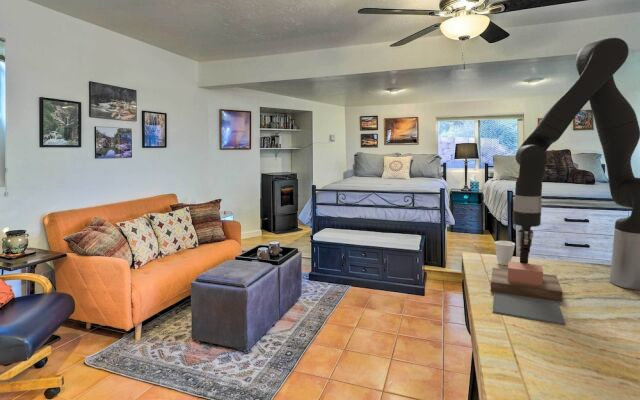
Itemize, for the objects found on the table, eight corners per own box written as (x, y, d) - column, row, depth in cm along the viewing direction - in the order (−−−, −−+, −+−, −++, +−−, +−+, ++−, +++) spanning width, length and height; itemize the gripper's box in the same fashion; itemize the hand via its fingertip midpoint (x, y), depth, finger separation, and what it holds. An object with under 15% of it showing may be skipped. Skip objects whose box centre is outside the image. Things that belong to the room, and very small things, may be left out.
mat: (494, 293, 106) (494, 291, 106) (557, 302, 98) (558, 301, 98) (492, 312, 93) (492, 311, 93) (565, 325, 86) (565, 323, 86)
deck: (492, 276, 119) (492, 267, 119) (555, 284, 111) (556, 275, 111) (490, 291, 107) (491, 281, 107) (561, 301, 99) (562, 291, 98)
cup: (489, 263, 132) (490, 242, 131) (501, 258, 138) (502, 238, 137) (509, 268, 127) (510, 246, 125) (520, 262, 133) (521, 241, 132)
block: (507, 273, 113) (508, 261, 113) (540, 277, 109) (541, 265, 109) (507, 280, 107) (508, 267, 107) (542, 285, 103) (543, 272, 102)
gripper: (543, 214, 102) (539, 271, 104) (539, 206, 113) (536, 258, 116) (513, 212, 105) (510, 268, 108) (513, 205, 117) (510, 256, 119)
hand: (523, 263), depth 112 cm, fingers closed
